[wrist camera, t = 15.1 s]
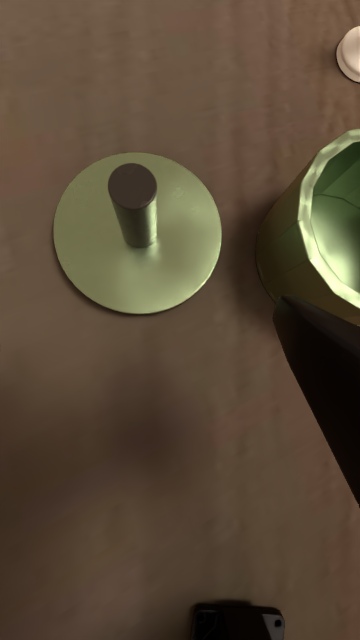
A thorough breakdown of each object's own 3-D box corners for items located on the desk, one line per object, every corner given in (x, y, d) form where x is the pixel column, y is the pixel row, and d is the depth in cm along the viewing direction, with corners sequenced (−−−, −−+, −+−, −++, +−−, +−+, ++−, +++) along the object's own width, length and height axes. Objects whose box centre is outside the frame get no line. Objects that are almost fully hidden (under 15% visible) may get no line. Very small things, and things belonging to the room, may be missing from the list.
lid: (235, 296, 20) (272, 273, 14) (77, 332, 19) (35, 327, 12) (197, 151, 21) (216, 63, 14) (44, 177, 20) (-13, 94, 13)
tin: (383, 335, 21) (482, 332, 15) (247, 314, 20) (288, 302, 14) (391, 203, 22) (487, 146, 16) (263, 178, 21) (308, 108, 15)
